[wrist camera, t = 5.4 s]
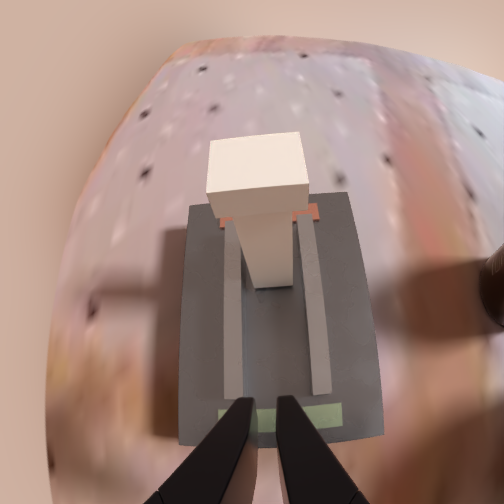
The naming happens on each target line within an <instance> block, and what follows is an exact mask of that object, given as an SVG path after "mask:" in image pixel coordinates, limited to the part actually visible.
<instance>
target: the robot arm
mask: <svg viewBox="0 0 504 504" xmlns="http://www.w3.org/2000/svg"><path fill="white" fill-rule="evenodd" d="M276 442H277V453H278V464H279V475H280V484H281V490H282V497H283V503H284V504H370V503H369V502H368V501H367V499H366V498H365V496H364V495H363V494H362V492H361V491H358V490H359V489H358V487H357V486H356V484H355V483H354V482H353V480H352V479H351V478H350V476H349V475H348V473H347V472H346V471H345V469H344V468H343V466H342V465H341V464H340V462H339V461H338V459H337V458H336V456H335V455H334V454H333V452H332V451H331V449H330V448H329V446H328V445H327V444H326V442H325V441H324V439H323V438H322V436H321V435H320V433H319V432H318V430H317V429H316V428H315V426H314V425H313V423H312V422H311V420H310V419H309V417H308V416H307V414H306V413H305V411H304V410H303V408H302V407H301V405H300V404H299V402H298V401H297V399H296V398H295V397H294V396H293V395H284V396H278V397H277V400H276ZM257 457H258V417H257V410H256V403H255V399H254V398H253V397H239V398H237V399H236V400H235V401H234V402H233V404H232V405H231V406H230V407H229V409H228V410H227V411H226V412H225V413H224V415H223V416H222V417H221V418H220V420H219V421H218V422H217V423H216V424H215V426H214V427H213V428H212V429H211V430H210V431H209V433H208V434H207V435H206V436H205V437H204V438H203V440H202V441H201V442H200V443H199V444H198V445H197V447H196V448H195V449H194V450H193V451H192V452H191V453H190V455H189V456H188V457H187V458H186V459H185V460H184V461H183V462H182V463H181V465H180V466H179V467H178V468H177V469H176V470H175V471H174V472H173V473H172V474H171V476H170V477H169V478H168V479H167V480H166V481H165V482H164V483H163V484H162V485H161V486H160V487H159V488H158V491H159V492H158V491H155V492H154V493H153V494H152V495H151V496H150V497H149V498H148V500H147V501H146V502H144V503H143V504H252V501H253V495H254V490H255V484H256V477H257Z"/></svg>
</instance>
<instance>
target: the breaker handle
mask: <svg viewBox="0 0 504 504" xmlns="http://www.w3.org/2000/svg"><path fill="white" fill-rule="evenodd" d="M206 194H207V197H208V200H209V202H210V205H211V207H212V210H213V213H214V215H215V218H224V217H232V218H233V221H234V225H235V228H236V231H237V234H238V238H239V241H240V244H241V247H242V251H243V254H244V257H245V260H246V263H247V267H248V270H249V273H250V276H251V280H252V283H253V286H254V288H264V287H278V286H291V285H293V234H292V211H304V210H308V197H309V180H308V175H307V170H306V164H305V159H304V154H303V149H302V144H301V139H300V134H299V132H290V133H277V134H266V135H256V136H246V137H237V138H229V139H221V140H214V141H211V142H210V153H209V164H208V175H207V187H206Z"/></svg>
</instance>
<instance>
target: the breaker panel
mask: <svg viewBox="0 0 504 504" xmlns="http://www.w3.org/2000/svg"><path fill="white" fill-rule="evenodd" d="M292 234H293V285H291V286H278V287H264V288H254V286H253V283H252V280H251V276H250V273H249V270H248V267H247V263H246V260H245V257H244V254H243V251H242V247H241V244H240V241H239V238H238V234H237V231H236V228H235V225H234V221H233V218H232V217H224V218H215V215H214V213H213V210H212V207H211V205H210V203H209V204H200V205H191V206H189V216H188V226H187V236H186V247H185V259H184V272H183V287H182V303H181V322H180V346H179V390H178V425H179V445H184V446H196V447H197V445H198V444H199V443H200V442H201V441H202V440H203V438H204V437H205V436H206V435H207V434H208V433H209V431H210V430H211V429H212V428H213V427H214V426H215V424H216V423H217V422H218V421H219V420H220V418H221V417H222V416H223V415H224V413H225V412H226V411H227V410H228V409H229V407H230V406H231V405H232V404H233V402H234V401H235V400H236V399H237V398H239V397H253V398H254V399H255V403H256V410H257V417H258V448H277V442H276V400H277V397H278V396H284V395H293V396H294V397H295V398H296V399H297V401H298V402H299V404H300V405H301V407H302V408H303V410H304V411H305V413H306V414H307V416H308V417H309V419H310V420H311V422H312V423H313V425H314V426H315V428H316V429H317V430H318V432H319V433H320V435H321V436H322V438H323V439H324V441H325V442H326V444H328V443H337V442H344V441H351V440H357V439H363V438H369V437H375V436H380V435H384V418H383V403H382V390H381V379H380V369H379V360H378V352H377V344H376V336H375V329H374V322H373V315H372V309H371V302H370V296H369V291H368V285H367V279H366V274H365V269H364V264H363V259H362V254H361V249H360V244H359V239H358V235H357V230H356V226H355V222H354V217H353V213H352V209H351V205H350V201H349V197H348V193H347V192H337V193H321V194H309V197H308V210H304V211H292Z"/></svg>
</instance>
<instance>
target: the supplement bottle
mask: <svg viewBox="0 0 504 504" xmlns="http://www.w3.org/2000/svg"><path fill="white" fill-rule="evenodd" d="M480 291H481V296H482V300H483V303H484V305H485V307H486V309H487V311H488V313H489V314H490V316H491V317H492V318H493V319H494V320H495V321H496V322H497V323H499V324H500V325H502V326H504V244H503V245H502V246H501V247H500V248H499V249H498V250H497V251H496V252H495V253H494V254H493V255H492V256H491V257H490V258H489V259H488V260H487V261H486V263H485V264H484V266H483V269H482V271H481V276H480Z"/></svg>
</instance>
